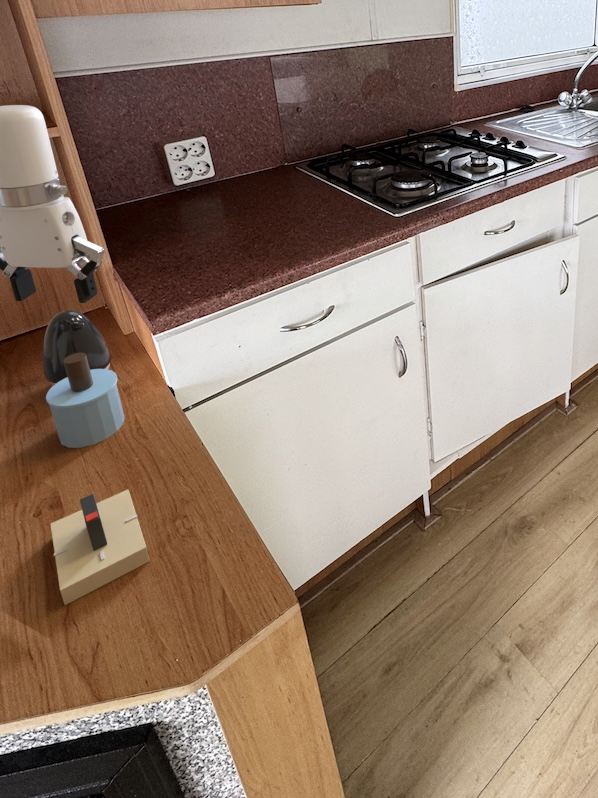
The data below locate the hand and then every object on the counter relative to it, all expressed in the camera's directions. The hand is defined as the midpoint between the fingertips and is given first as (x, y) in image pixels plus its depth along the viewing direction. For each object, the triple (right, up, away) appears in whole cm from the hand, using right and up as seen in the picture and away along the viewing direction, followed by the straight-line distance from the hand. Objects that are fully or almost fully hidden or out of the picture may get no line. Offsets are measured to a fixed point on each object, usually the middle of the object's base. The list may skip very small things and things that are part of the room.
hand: (57, 297), depth 89 cm
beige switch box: (+15, -32, -12) cm, 37 cm away
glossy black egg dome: (-11, -20, +20) cm, 30 cm away
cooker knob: (+15, -29, -13) cm, 35 cm away
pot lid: (0, -16, +6) cm, 17 cm away
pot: (0, -24, +9) cm, 25 cm away
